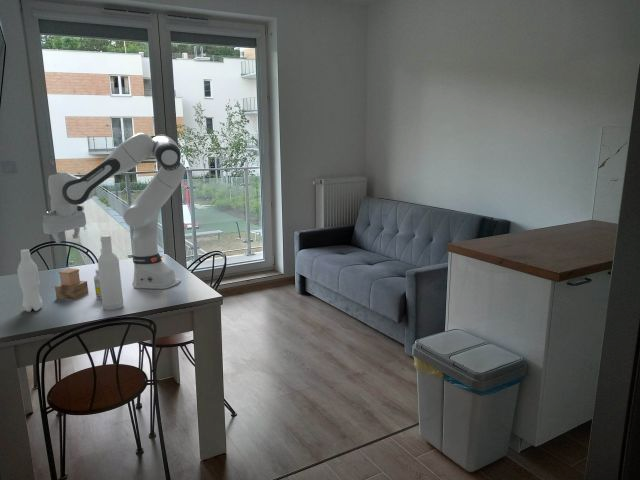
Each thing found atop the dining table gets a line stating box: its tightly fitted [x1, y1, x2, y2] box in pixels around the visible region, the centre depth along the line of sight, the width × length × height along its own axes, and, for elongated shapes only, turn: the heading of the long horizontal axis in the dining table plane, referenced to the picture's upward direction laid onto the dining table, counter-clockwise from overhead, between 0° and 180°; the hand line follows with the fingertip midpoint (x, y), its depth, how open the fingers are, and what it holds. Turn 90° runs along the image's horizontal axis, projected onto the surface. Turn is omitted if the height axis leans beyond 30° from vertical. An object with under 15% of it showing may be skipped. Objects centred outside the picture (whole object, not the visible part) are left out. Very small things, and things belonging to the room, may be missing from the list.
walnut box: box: [54, 280, 89, 301], centre depth 211 cm, size 9×9×6 cm
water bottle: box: [16, 249, 44, 313], centre depth 193 cm, size 7×7×25 cm
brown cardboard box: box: [58, 268, 81, 286], centre depth 209 cm, size 6×6×6 cm
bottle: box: [97, 234, 124, 311], centre depth 194 cm, size 8×8×30 cm
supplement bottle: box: [93, 268, 102, 300], centre depth 208 cm, size 7×7×13 cm
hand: (67, 240), depth 210 cm, fingers open, 8 cm apart
